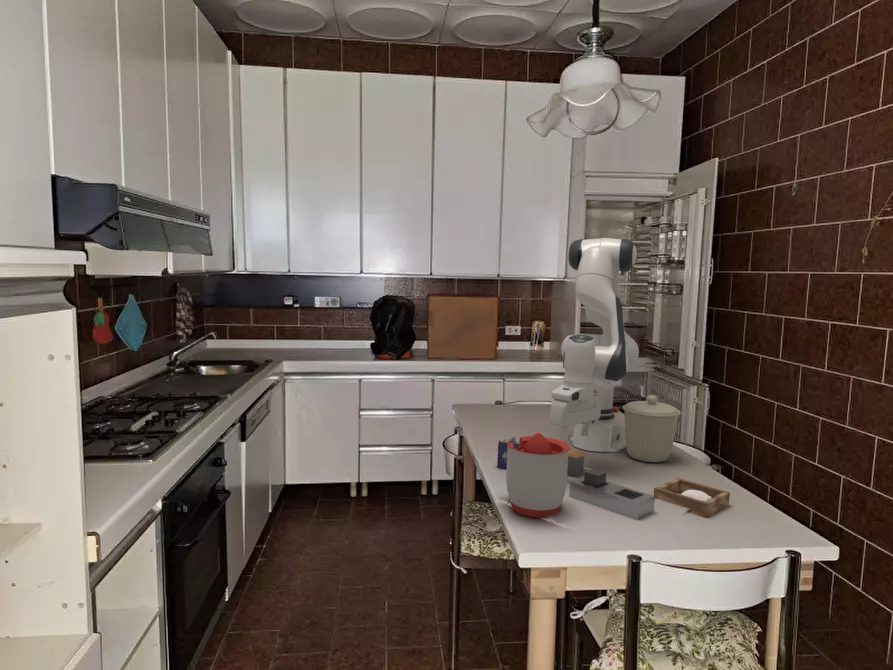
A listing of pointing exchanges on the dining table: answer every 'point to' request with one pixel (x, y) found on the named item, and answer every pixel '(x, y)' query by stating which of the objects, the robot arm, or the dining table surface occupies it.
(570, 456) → the plug
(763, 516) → the dining table surface
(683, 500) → the garlic corral
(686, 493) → the garlic
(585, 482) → the twin plug
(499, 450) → the blue box
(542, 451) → the citrus juicer
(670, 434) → the canister
